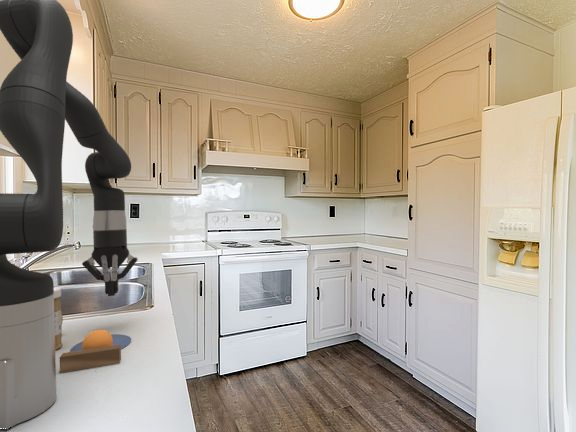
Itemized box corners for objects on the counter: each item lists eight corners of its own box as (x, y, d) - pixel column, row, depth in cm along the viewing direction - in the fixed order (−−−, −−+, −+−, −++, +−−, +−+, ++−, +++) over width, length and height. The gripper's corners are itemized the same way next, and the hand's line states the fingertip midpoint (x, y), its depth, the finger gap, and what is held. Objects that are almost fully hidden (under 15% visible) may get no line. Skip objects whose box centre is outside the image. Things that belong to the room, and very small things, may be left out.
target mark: (108, 359, 64) (108, 358, 64) (55, 356, 66) (55, 355, 66) (141, 335, 76) (141, 335, 76) (96, 334, 78) (96, 333, 78)
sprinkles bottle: (44, 345, 72) (42, 287, 71) (66, 343, 72) (65, 286, 72) (32, 354, 67) (30, 292, 67) (55, 352, 68) (54, 290, 68)
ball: (102, 366, 65) (99, 353, 62) (77, 357, 65) (73, 344, 62) (119, 342, 70) (117, 329, 66) (96, 334, 70) (92, 321, 66)
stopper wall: (63, 368, 61) (62, 352, 61) (121, 358, 65) (120, 344, 64) (60, 373, 59) (59, 357, 59) (119, 363, 63) (119, 348, 63)
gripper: (139, 227, 87) (141, 289, 87) (84, 229, 82) (86, 294, 82) (136, 227, 80) (138, 295, 80) (76, 229, 75) (77, 301, 75)
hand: (111, 295), depth 81 cm, fingers closed
